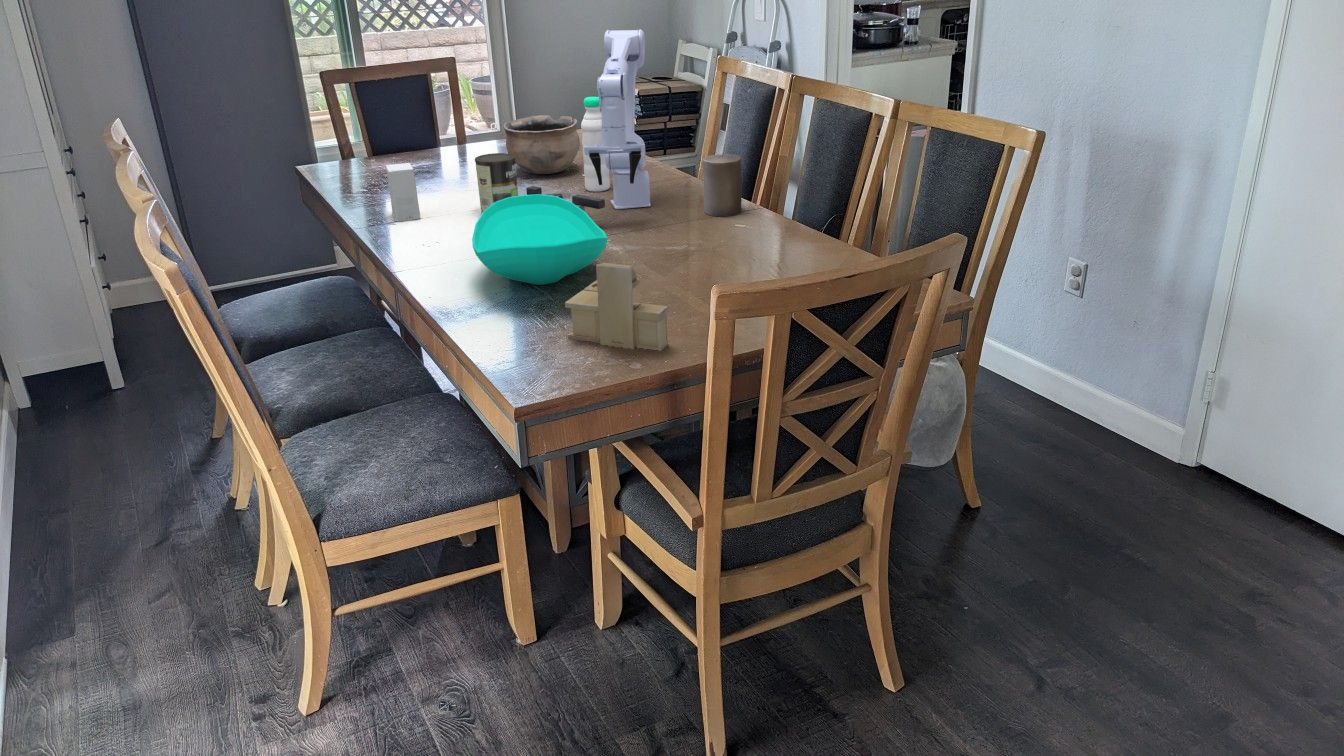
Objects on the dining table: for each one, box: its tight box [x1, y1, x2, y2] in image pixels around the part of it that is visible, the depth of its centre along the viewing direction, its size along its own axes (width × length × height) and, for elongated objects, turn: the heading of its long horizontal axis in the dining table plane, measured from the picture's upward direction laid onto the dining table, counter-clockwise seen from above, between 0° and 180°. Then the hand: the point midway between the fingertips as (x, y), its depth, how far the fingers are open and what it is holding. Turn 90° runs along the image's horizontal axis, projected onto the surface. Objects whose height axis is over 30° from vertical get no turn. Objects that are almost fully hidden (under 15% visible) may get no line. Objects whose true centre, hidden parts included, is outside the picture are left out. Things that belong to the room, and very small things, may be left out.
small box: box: [385, 162, 421, 223], centre depth 254 cm, size 8×6×13 cm
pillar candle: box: [702, 153, 743, 217], centre depth 250 cm, size 10×10×15 cm
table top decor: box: [471, 194, 608, 286], centre depth 207 cm, size 40×28×13 cm
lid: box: [525, 185, 606, 210], centre depth 247 cm, size 14×24×3 cm, turn 53°
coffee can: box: [474, 152, 519, 214], centre depth 257 cm, size 10×10×14 cm
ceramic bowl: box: [502, 115, 581, 175], centre depth 294 cm, size 22×22×15 cm
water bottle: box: [580, 96, 611, 193], centre depth 272 cm, size 7×7×25 cm
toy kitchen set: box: [564, 262, 670, 352], centre depth 180 cm, size 18×17×15 cm
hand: (616, 183), depth 241 cm, fingers open, 7 cm apart
